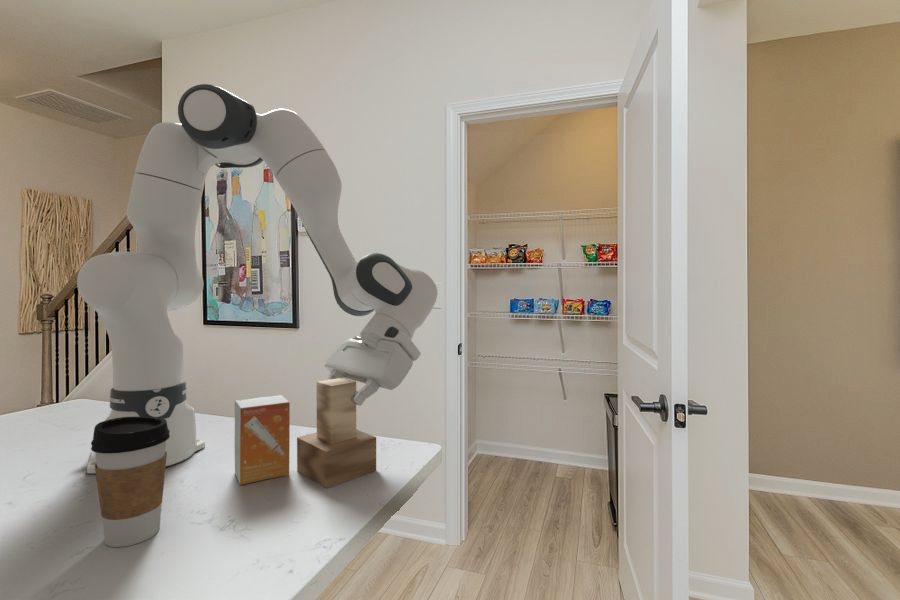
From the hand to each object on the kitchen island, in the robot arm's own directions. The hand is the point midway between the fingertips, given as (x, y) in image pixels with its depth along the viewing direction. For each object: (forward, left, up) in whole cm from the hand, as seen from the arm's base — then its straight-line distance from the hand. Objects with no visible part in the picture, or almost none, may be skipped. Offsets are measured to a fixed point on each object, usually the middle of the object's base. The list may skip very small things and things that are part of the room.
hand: (339, 398), depth 79 cm
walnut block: (0, -1, -13) cm, 13 cm away
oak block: (0, -1, -7) cm, 7 cm away
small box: (-8, -11, -13) cm, 19 cm away
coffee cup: (-1, -31, -13) cm, 33 cm away
